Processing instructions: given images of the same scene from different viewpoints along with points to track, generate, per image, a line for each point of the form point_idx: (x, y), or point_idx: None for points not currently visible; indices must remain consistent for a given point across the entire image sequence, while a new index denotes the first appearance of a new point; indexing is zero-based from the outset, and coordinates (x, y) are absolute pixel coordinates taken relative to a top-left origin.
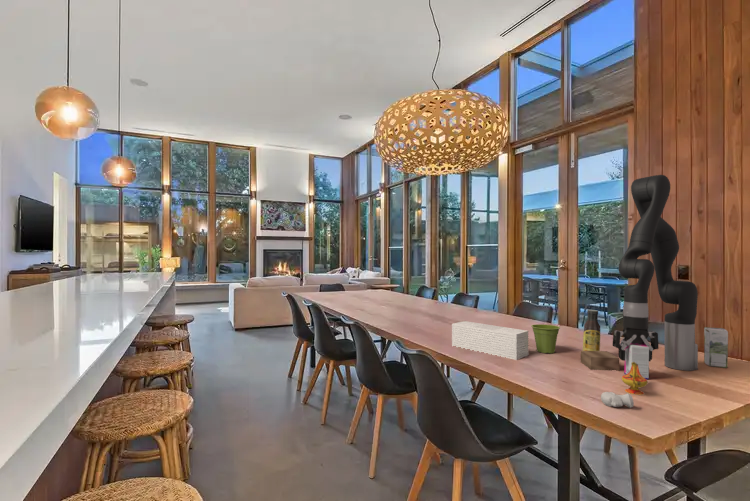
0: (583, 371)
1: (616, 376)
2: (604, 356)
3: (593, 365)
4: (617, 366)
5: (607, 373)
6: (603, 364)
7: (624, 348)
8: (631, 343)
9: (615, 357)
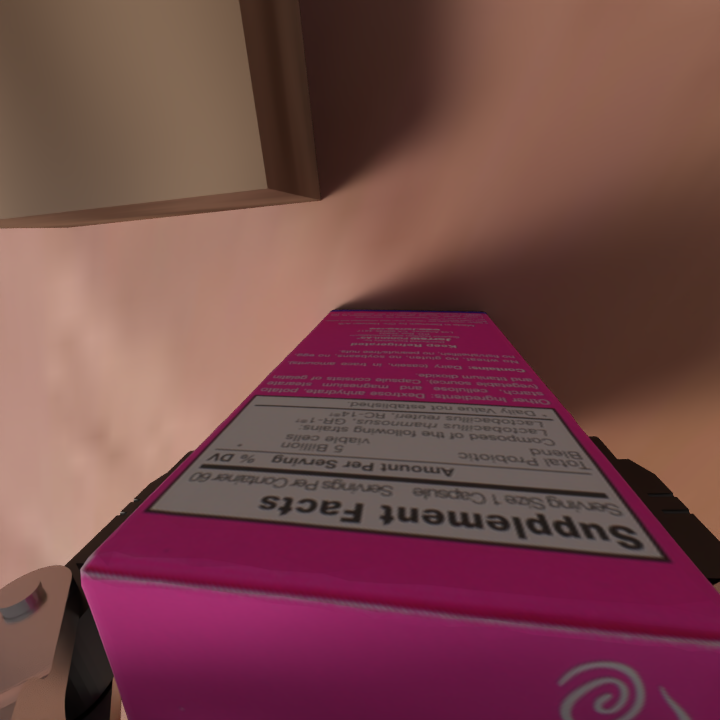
0: (16, 302)
1: (242, 398)
2: (69, 127)
3: (49, 225)
4: (287, 199)
5: (190, 325)
6: (130, 216)
7: (107, 708)
8: (273, 683)
9: (218, 155)
